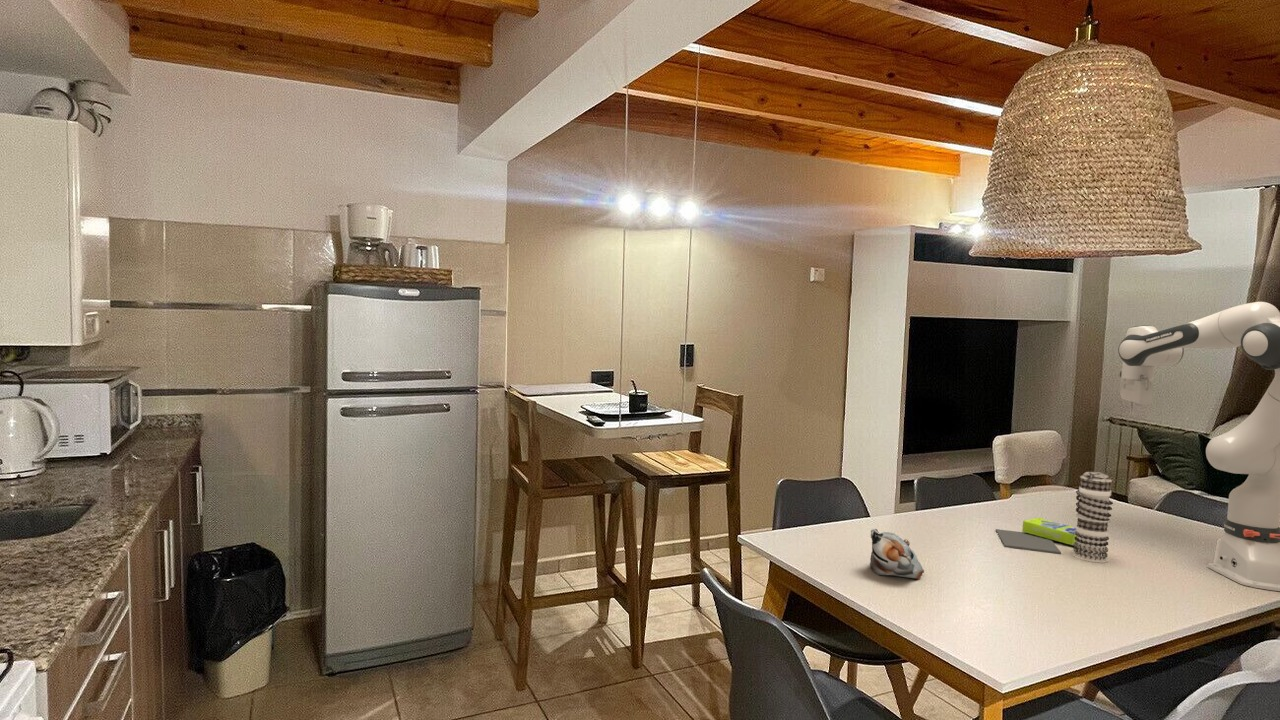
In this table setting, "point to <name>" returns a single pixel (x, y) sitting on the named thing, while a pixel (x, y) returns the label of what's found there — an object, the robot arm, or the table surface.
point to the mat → (1027, 541)
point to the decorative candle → (1093, 517)
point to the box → (1050, 530)
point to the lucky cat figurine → (893, 556)
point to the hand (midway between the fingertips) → (1134, 415)
